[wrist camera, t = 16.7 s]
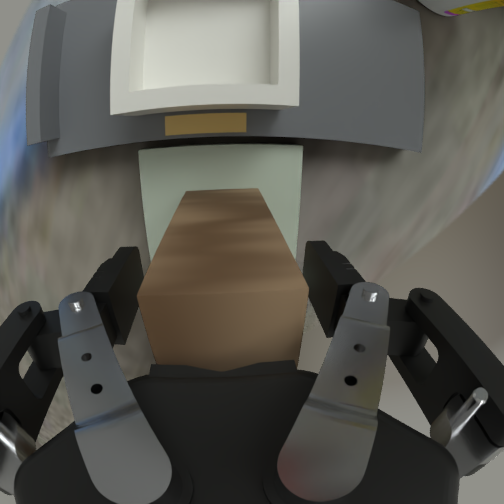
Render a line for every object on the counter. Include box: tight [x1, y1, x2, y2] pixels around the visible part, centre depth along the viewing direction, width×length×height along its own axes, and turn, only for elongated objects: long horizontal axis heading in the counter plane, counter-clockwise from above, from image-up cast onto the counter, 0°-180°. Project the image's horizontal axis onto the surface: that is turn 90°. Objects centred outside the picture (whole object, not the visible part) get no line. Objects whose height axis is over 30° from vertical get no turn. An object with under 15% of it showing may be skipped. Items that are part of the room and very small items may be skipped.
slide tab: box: [110, 0, 300, 116], centre depth 9 cm, size 7×7×4 cm
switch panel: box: [26, 0, 425, 158], centre depth 11 cm, size 22×10×4 cm, turn 89°
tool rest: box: [138, 143, 303, 261], centre depth 17 cm, size 9×9×1 cm
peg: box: [137, 188, 309, 371], centre depth 12 cm, size 4×4×10 cm
